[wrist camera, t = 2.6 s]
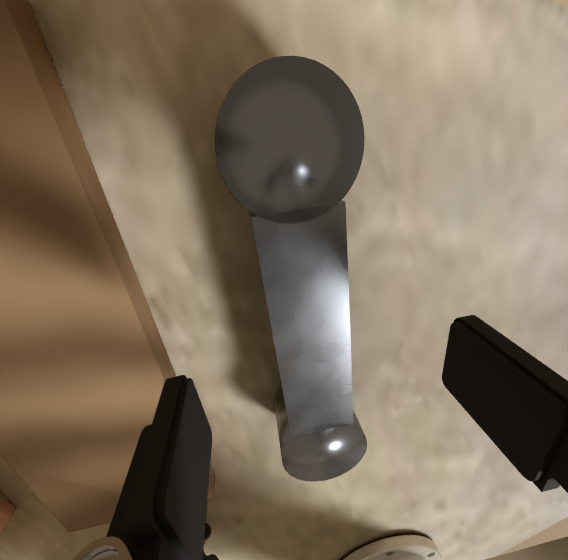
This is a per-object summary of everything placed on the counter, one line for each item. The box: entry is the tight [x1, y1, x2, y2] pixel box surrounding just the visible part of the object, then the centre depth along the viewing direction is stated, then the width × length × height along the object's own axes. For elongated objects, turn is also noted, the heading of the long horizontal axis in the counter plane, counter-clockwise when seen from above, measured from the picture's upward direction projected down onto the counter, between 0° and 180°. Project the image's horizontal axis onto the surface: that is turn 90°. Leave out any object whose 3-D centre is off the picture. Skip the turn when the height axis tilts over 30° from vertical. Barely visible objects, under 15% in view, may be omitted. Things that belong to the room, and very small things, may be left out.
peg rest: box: [0, 0, 215, 532], centre depth 12 cm, size 28×10×6 cm, turn 7°
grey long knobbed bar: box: [215, 56, 367, 481], centre depth 14 cm, size 21×5×4 cm, turn 7°
